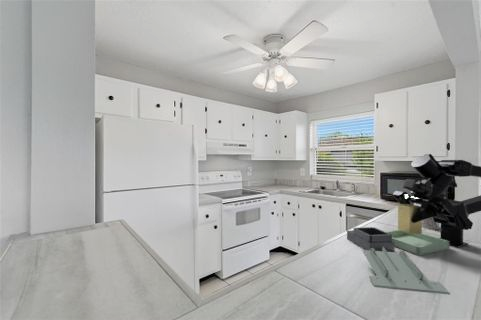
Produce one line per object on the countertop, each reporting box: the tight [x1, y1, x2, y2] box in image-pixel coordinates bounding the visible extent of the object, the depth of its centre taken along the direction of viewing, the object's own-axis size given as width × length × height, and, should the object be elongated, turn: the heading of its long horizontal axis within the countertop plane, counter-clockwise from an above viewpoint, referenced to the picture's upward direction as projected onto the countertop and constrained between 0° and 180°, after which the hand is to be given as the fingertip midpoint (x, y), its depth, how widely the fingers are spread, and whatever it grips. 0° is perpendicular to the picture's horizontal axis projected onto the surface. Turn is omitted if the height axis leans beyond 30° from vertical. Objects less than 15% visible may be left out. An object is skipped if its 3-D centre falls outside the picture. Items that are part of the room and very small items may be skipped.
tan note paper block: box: [397, 203, 423, 234], centre depth 73 cm, size 4×4×9 cm
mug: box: [422, 217, 440, 230], centre depth 94 cm, size 10×7×7 cm, turn 147°
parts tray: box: [384, 229, 451, 257], centre depth 73 cm, size 16×14×2 cm
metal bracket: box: [362, 247, 450, 295], centre depth 53 cm, size 14×6×15 cm
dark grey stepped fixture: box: [346, 226, 395, 252], centre depth 72 cm, size 8×12×5 cm
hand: (406, 219), depth 73 cm, fingers closed on tan note paper block, 4 cm apart
